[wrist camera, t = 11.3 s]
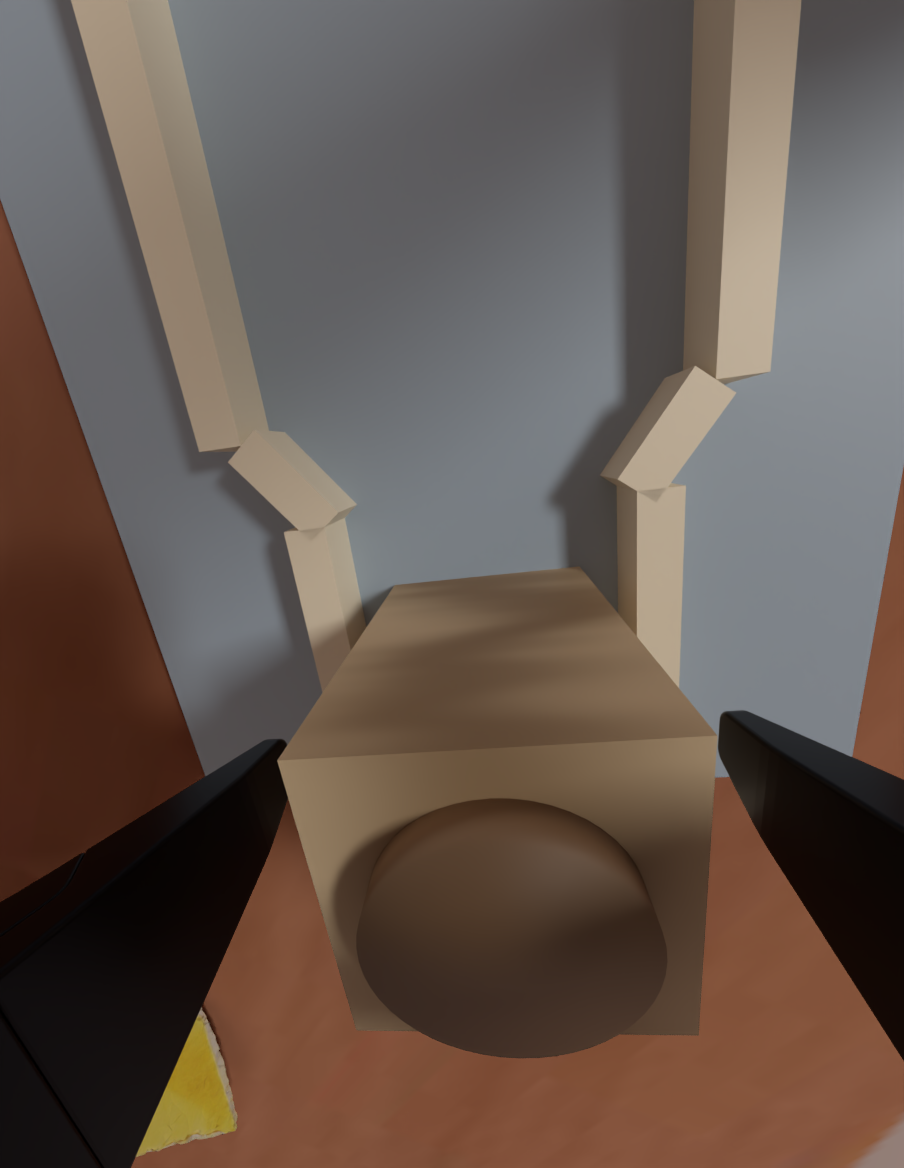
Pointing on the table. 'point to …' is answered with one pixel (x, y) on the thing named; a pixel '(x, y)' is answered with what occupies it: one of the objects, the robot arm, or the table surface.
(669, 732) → the stud block
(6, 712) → the table surface
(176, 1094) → the origami crane
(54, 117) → the keyhole board
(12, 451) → the table surface
